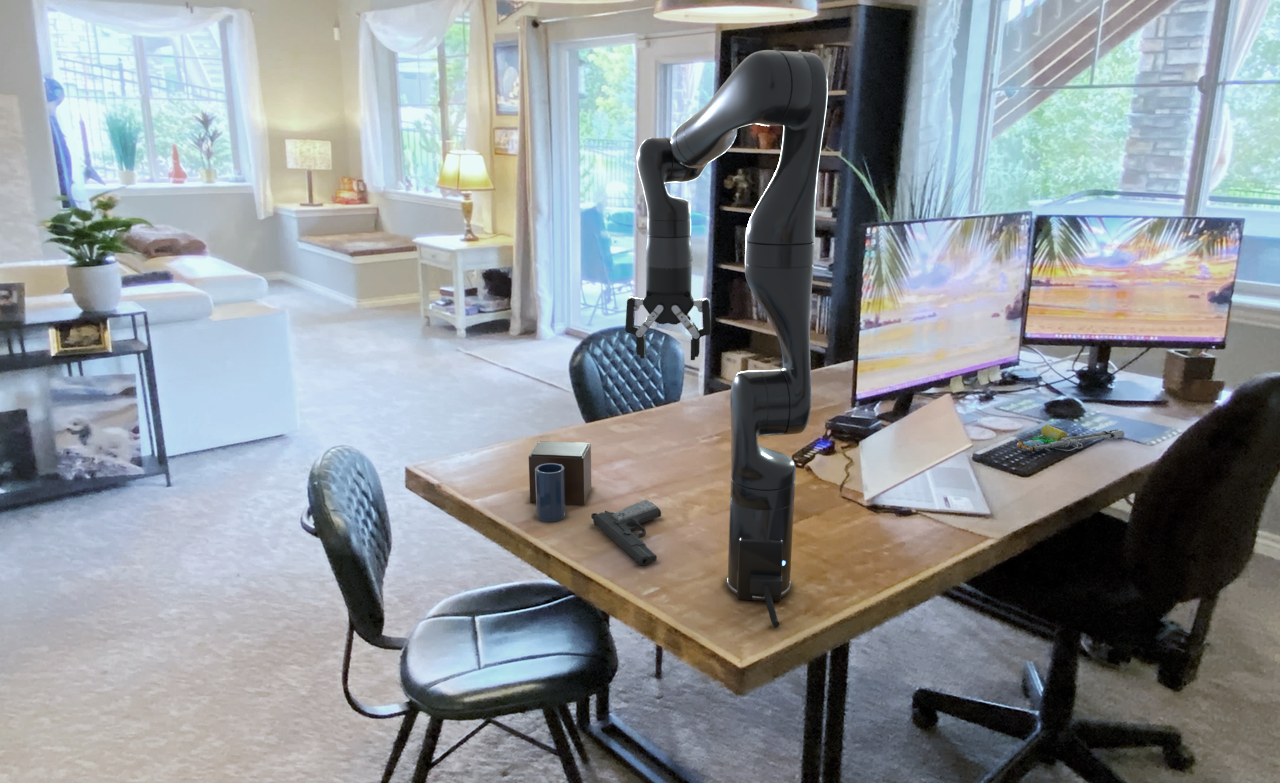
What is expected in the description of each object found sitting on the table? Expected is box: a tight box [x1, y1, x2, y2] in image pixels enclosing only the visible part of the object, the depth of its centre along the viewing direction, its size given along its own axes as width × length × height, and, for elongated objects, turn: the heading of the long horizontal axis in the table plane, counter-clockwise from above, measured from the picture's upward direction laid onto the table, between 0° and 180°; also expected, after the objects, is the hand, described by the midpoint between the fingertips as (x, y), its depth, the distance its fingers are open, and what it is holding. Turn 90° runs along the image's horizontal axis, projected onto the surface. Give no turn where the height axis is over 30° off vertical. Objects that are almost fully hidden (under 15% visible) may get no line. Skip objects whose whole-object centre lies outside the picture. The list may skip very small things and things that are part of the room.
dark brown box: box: [528, 440, 592, 506], centre depth 170 cm, size 8×10×9 cm
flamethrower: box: [1016, 424, 1125, 452], centre depth 200 cm, size 29×3×10 cm
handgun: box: [590, 499, 662, 566], centre depth 154 cm, size 19×2×12 cm
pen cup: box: [535, 463, 567, 523], centre depth 161 cm, size 5×5×9 cm
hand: (667, 358), depth 157 cm, fingers open, 8 cm apart
